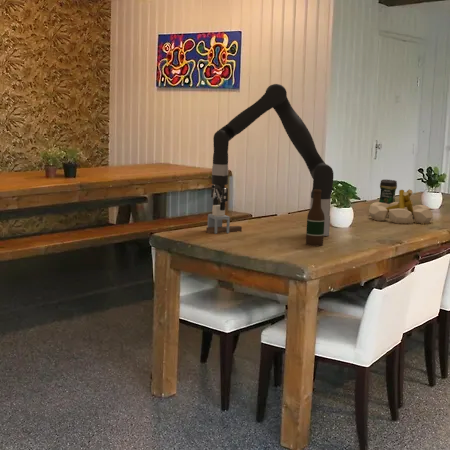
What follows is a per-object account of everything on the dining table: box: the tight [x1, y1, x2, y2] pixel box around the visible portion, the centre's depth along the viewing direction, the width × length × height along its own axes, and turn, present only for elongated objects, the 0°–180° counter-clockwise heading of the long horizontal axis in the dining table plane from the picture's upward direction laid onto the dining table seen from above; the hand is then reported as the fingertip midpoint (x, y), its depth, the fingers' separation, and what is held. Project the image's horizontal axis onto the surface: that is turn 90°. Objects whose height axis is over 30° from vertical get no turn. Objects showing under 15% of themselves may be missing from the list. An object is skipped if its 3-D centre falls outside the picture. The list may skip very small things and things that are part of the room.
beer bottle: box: [305, 189, 325, 247], centre depth 294 cm, size 8×8×24 cm
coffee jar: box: [378, 179, 398, 204], centre depth 402 cm, size 10×8×19 cm
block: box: [211, 204, 226, 216], centre depth 316 cm, size 4×4×4 cm
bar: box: [205, 225, 243, 234], centre depth 318 cm, size 3×17×3 cm, turn 116°
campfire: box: [368, 189, 434, 224], centre depth 373 cm, size 35×34×17 cm
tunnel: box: [206, 213, 231, 234], centre depth 317 cm, size 10×7×8 cm
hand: (218, 208), depth 316 cm, fingers open, 8 cm apart
